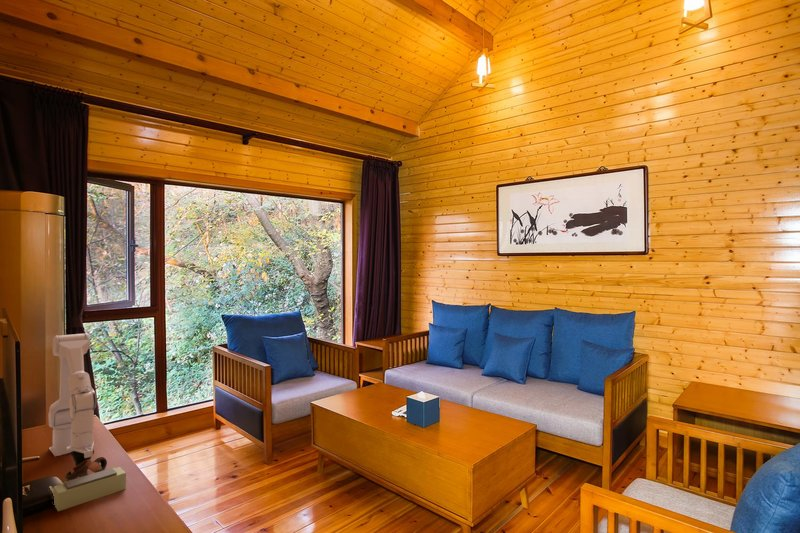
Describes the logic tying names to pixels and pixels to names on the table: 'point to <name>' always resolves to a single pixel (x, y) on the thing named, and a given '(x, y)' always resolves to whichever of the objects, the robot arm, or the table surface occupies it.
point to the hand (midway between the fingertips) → (82, 473)
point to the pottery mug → (85, 465)
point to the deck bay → (88, 488)
